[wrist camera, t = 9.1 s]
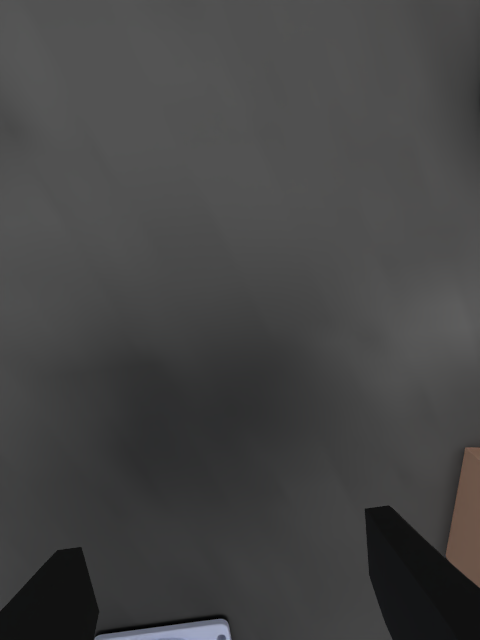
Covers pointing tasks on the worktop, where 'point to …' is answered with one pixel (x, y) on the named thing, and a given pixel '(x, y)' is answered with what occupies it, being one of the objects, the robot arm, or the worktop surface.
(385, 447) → the worktop surface
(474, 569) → the terracotta block
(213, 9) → the worktop surface
